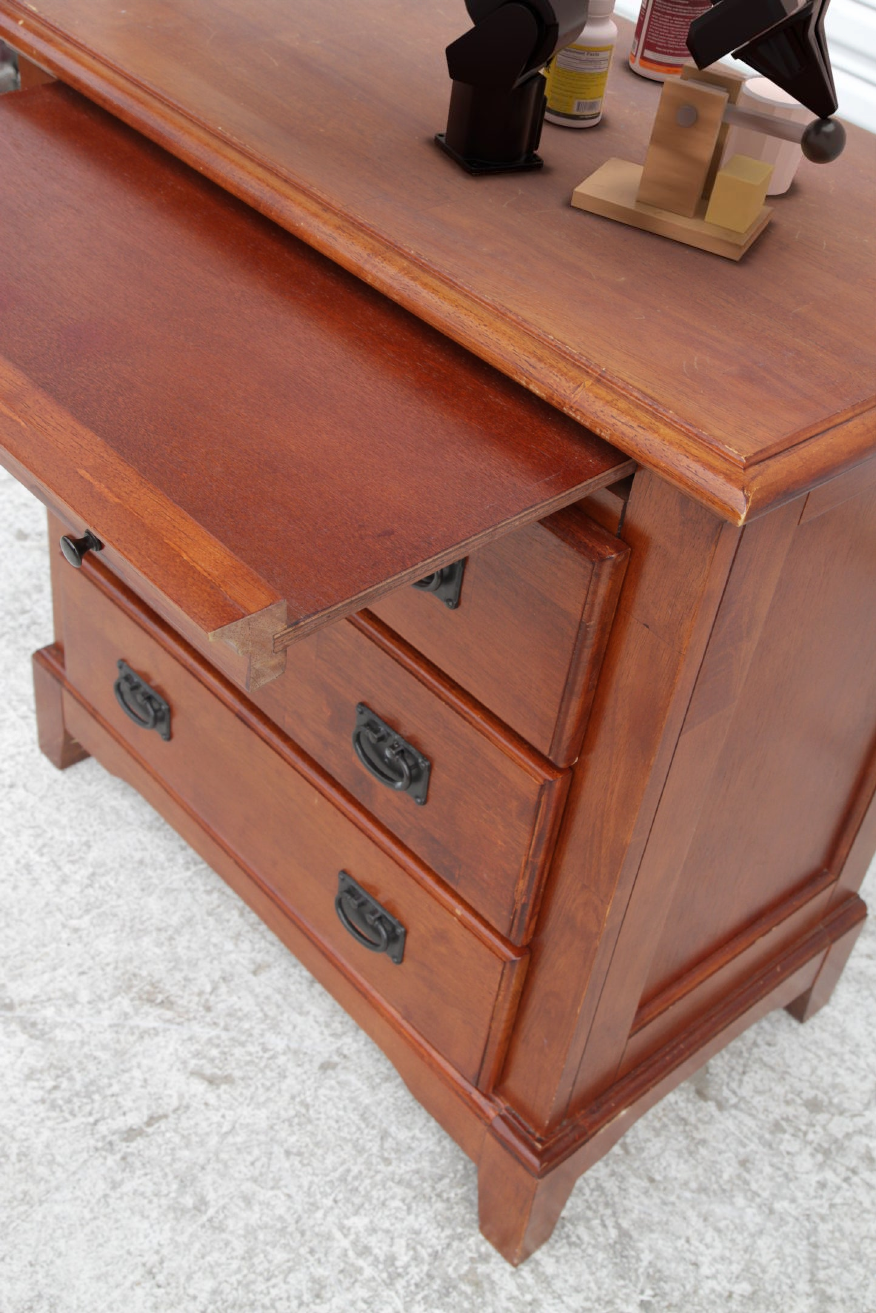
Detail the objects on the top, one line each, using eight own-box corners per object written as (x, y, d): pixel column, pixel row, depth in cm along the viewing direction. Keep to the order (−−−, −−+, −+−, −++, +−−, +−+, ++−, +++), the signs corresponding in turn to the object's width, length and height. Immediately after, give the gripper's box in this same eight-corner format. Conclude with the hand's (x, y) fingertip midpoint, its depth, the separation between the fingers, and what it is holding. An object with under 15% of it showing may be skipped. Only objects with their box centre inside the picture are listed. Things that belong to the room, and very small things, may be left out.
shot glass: (737, 154, 106) (763, 66, 101) (811, 184, 103) (841, 95, 99) (695, 174, 102) (720, 83, 97) (771, 206, 99) (800, 114, 94)
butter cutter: (768, 223, 97) (810, 89, 90) (737, 261, 91) (780, 122, 85) (609, 171, 100) (638, 39, 93) (570, 205, 94) (598, 67, 88)
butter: (743, 234, 92) (758, 185, 89) (703, 221, 93) (717, 172, 90) (760, 213, 95) (775, 165, 92) (721, 201, 96) (735, 153, 93)
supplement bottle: (548, 98, 110) (570, -26, 103) (608, 115, 109) (634, -10, 102) (526, 117, 106) (549, -11, 99) (588, 135, 105) (615, 7, 98)
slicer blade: (842, 161, 89) (857, 118, 87) (832, 175, 87) (847, 130, 85) (682, 115, 93) (692, 72, 91) (668, 127, 91) (678, 83, 88)
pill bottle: (707, 82, 118) (742, -50, 111) (657, 88, 115) (689, -47, 108) (663, 57, 122) (694, -72, 114) (613, 62, 119) (641, -70, 111)
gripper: (797, -176, 70) (919, 88, 75) (871, -212, 83) (971, 15, 88) (631, -54, 78) (751, 180, 82) (722, -104, 90) (822, 100, 95)
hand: (830, 114), depth 87 cm, fingers closed, pressing on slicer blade
